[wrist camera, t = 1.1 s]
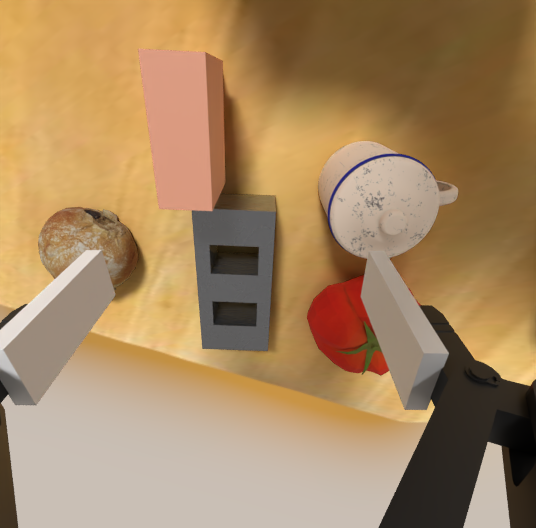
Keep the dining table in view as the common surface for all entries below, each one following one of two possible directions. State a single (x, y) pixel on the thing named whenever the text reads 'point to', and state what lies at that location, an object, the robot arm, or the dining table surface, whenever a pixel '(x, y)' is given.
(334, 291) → the tomato
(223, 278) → the grey rectangular block
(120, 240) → the bread roll
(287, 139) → the dining table surface
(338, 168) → the teacup with lid
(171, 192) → the chamfered pink post
